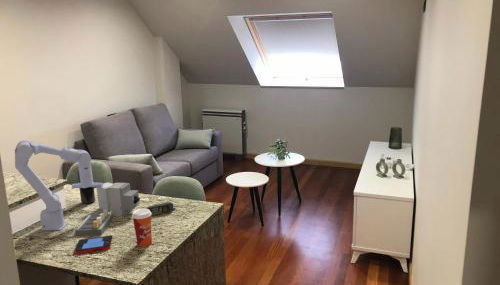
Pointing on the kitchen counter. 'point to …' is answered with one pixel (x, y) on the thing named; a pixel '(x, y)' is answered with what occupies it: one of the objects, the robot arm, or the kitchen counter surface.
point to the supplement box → (104, 196)
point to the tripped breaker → (95, 224)
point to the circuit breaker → (122, 199)
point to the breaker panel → (87, 224)
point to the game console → (93, 244)
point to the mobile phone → (161, 208)
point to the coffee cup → (142, 226)
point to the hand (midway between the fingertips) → (89, 201)
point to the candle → (83, 194)
